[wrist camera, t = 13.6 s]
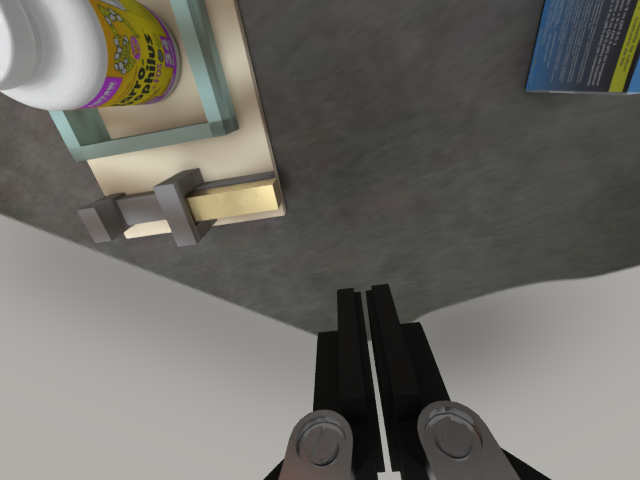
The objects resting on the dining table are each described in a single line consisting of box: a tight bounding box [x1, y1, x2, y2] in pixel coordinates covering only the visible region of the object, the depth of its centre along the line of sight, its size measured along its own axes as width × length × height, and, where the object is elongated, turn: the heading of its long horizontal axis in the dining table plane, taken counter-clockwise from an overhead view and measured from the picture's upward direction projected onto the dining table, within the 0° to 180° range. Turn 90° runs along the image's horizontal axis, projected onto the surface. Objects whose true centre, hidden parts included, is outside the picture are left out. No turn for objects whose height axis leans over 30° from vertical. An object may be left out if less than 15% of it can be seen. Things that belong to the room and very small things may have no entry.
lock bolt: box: [184, 178, 282, 222], centre depth 25 cm, size 2×9×2 cm, turn 99°
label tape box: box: [525, 0, 640, 95], centre depth 16 cm, size 9×4×12 cm, turn 3°
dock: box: [48, 0, 286, 247], centre depth 23 cm, size 20×16×6 cm
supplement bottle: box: [0, 0, 180, 111], centre depth 17 cm, size 7×7×13 cm
